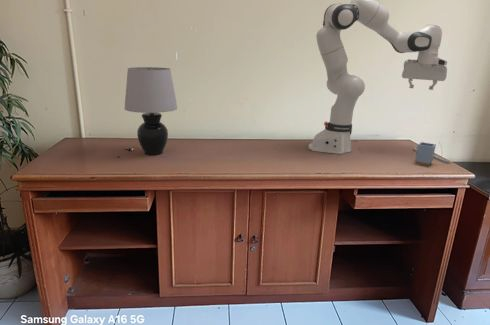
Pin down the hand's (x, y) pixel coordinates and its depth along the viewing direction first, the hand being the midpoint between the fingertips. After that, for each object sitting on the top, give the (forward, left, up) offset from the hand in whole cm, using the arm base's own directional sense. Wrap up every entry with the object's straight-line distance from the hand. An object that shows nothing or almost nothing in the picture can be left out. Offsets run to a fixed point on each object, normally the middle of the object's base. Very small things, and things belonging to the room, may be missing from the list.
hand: (421, 89), depth 179 cm
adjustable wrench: (+8, -6, -34) cm, 35 cm away
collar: (0, -21, -31) cm, 38 cm away
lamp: (-129, -32, -33) cm, 137 cm away
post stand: (0, -21, -33) cm, 39 cm away
